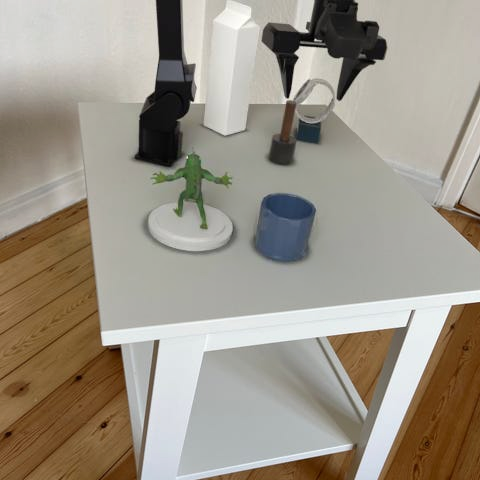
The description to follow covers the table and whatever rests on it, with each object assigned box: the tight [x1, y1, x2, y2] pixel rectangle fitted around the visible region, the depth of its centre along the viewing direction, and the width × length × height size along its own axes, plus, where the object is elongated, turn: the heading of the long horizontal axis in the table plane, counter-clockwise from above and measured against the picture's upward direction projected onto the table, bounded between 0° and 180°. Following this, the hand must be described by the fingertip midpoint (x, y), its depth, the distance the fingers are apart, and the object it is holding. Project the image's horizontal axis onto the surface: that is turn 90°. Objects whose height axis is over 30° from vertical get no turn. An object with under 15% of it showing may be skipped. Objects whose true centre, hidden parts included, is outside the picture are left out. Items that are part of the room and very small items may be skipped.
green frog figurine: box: [147, 146, 234, 252], centre depth 76 cm, size 12×12×10 cm
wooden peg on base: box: [268, 99, 298, 166], centre depth 99 cm, size 4×4×10 cm
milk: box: [203, 0, 261, 137], centre depth 103 cm, size 6×6×22 cm
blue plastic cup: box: [254, 192, 317, 262], centre depth 77 cm, size 7×7×6 cm
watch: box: [292, 77, 336, 144], centre depth 109 cm, size 6×8×11 cm
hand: (312, 98), depth 90 cm, fingers open, 9 cm apart
